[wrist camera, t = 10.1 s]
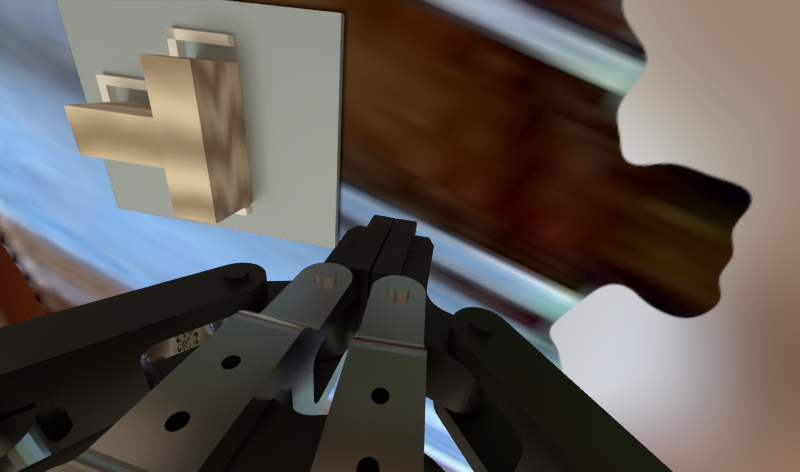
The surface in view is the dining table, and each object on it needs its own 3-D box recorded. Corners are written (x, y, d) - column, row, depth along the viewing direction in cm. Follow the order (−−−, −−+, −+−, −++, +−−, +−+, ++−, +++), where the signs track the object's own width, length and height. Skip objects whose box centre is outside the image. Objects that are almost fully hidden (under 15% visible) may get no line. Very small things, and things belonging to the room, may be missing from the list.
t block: (113, 48, 37) (42, 41, 31) (238, 62, 35) (189, 59, 29) (148, 185, 44) (96, 202, 38) (252, 202, 42) (216, 224, 36)
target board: (61, -17, 36) (40, -22, 34) (344, 14, 32) (337, 11, 31) (124, 205, 47) (111, 210, 46) (337, 245, 44) (332, 252, 42)
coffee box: (164, 302, 55) (58, 381, 40) (194, 298, 53) (95, 379, 39) (190, 344, 58) (101, 431, 44) (220, 341, 57) (138, 431, 42)
